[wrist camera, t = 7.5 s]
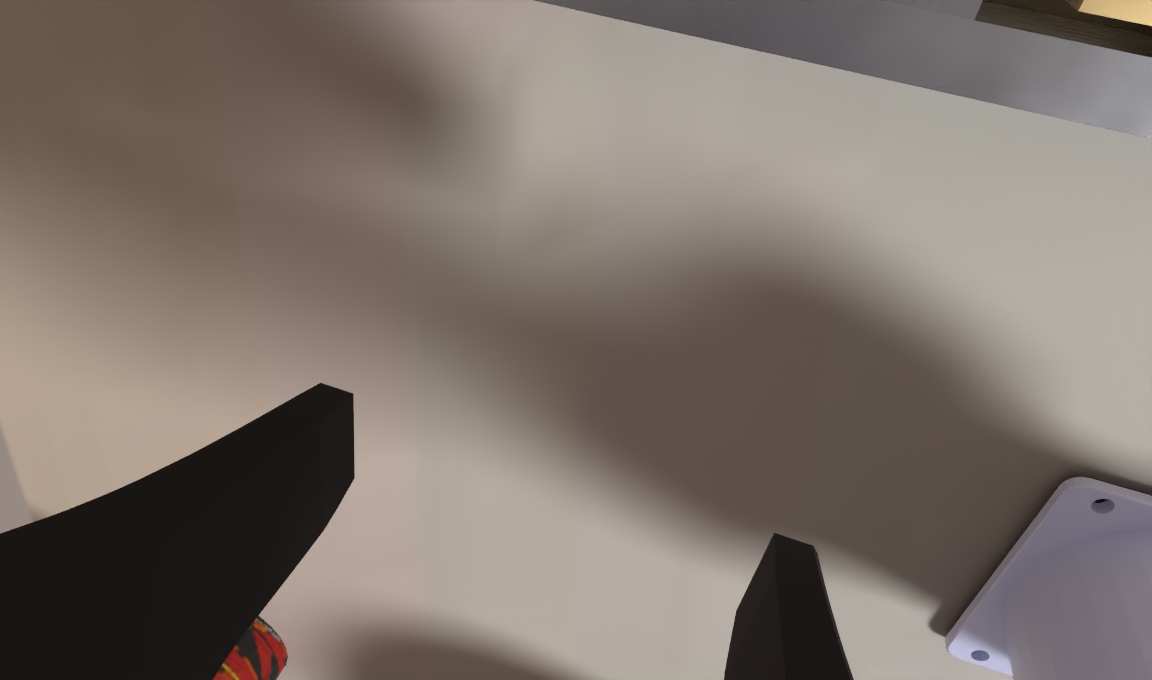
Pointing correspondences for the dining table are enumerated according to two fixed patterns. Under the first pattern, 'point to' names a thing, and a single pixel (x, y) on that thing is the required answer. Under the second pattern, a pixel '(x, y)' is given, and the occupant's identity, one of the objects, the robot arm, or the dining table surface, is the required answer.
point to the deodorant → (255, 655)
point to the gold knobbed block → (1117, 9)
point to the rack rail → (934, 48)
